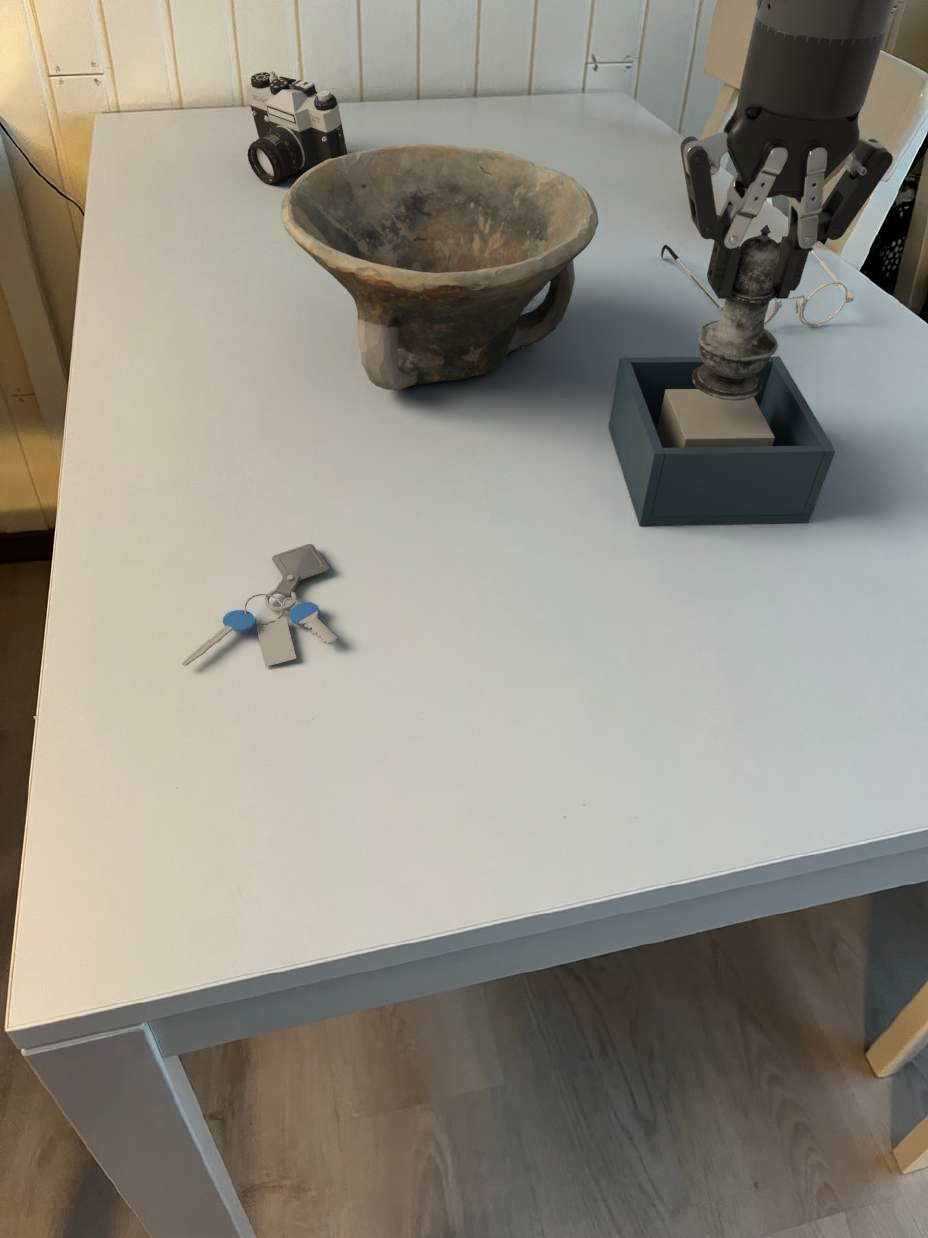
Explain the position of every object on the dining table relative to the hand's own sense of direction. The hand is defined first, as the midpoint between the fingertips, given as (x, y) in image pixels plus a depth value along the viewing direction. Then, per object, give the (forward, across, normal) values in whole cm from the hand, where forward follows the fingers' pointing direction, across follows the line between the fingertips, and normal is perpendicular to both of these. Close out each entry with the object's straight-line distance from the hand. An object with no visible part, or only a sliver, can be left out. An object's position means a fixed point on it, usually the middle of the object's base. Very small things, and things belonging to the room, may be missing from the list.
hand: (749, 292), depth 68 cm
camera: (+16, -38, +65) cm, 77 cm away
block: (+15, 0, 0) cm, 15 cm away
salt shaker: (+7, 0, 0) cm, 7 cm away
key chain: (+16, -33, -16) cm, 40 cm away
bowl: (+16, -21, +19) cm, 33 cm away
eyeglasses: (+16, +13, +32) cm, 38 cm away
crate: (+16, 0, 0) cm, 16 cm away
